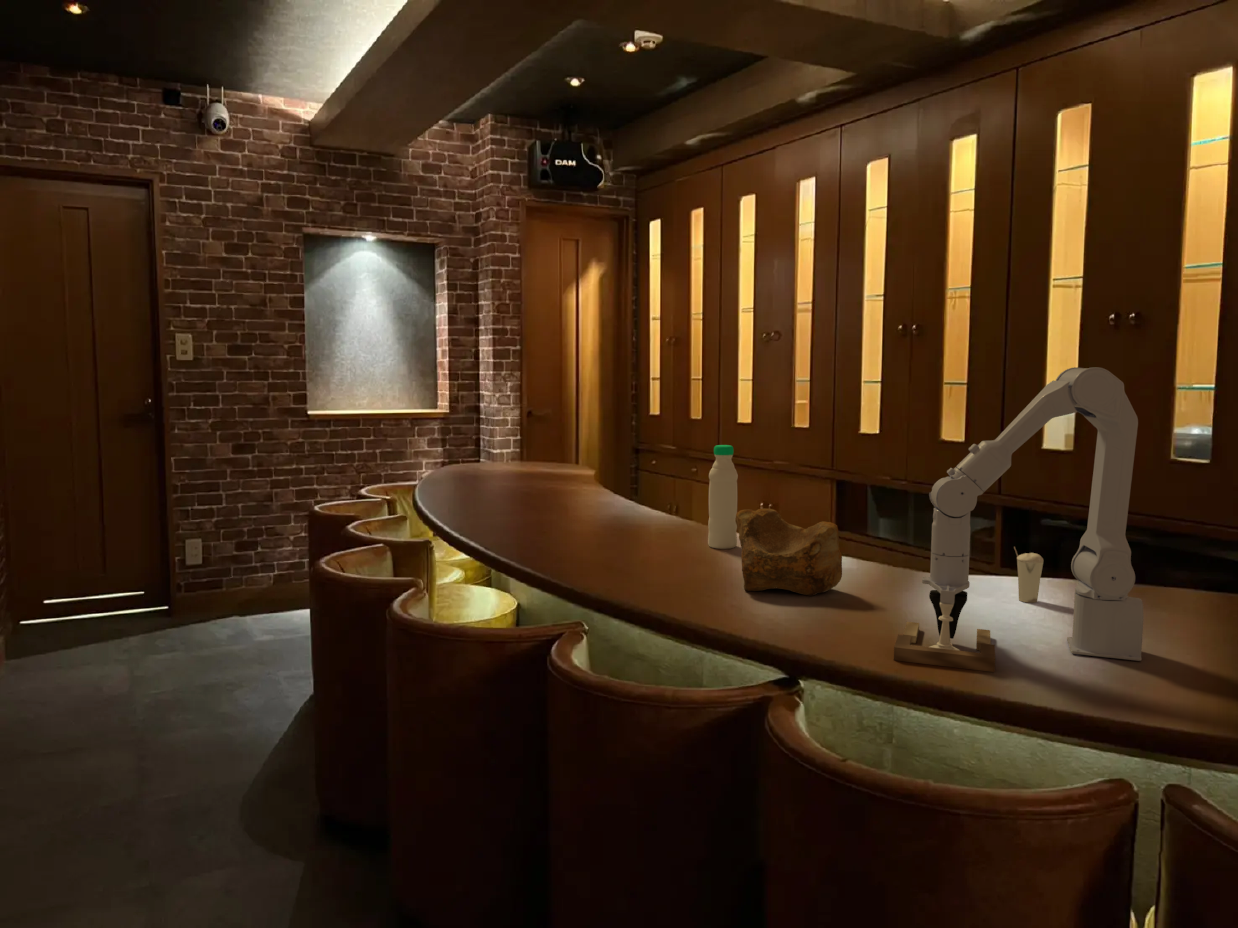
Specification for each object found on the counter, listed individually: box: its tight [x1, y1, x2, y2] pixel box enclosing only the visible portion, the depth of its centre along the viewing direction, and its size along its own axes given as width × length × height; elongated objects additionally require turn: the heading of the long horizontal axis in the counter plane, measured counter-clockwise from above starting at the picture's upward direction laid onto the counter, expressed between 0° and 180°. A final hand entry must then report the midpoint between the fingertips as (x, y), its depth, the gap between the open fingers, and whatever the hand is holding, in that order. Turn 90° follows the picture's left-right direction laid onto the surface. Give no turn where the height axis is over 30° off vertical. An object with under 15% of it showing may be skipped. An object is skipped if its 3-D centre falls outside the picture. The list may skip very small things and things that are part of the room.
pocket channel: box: [902, 621, 992, 651], centre depth 145 cm, size 13×8×1 cm, turn 68°
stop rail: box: [893, 634, 996, 673], centre depth 135 cm, size 14×7×2 cm, turn 68°
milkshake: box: [1013, 546, 1044, 604], centre depth 169 cm, size 4×5×10 cm
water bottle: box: [707, 444, 739, 550], centre depth 219 cm, size 7×7×25 cm
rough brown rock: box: [735, 508, 843, 597], centre depth 178 cm, size 23×17×15 cm
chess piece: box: [929, 602, 961, 651], centre depth 137 cm, size 5×5×10 cm
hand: (946, 636), depth 143 cm, fingers closed
